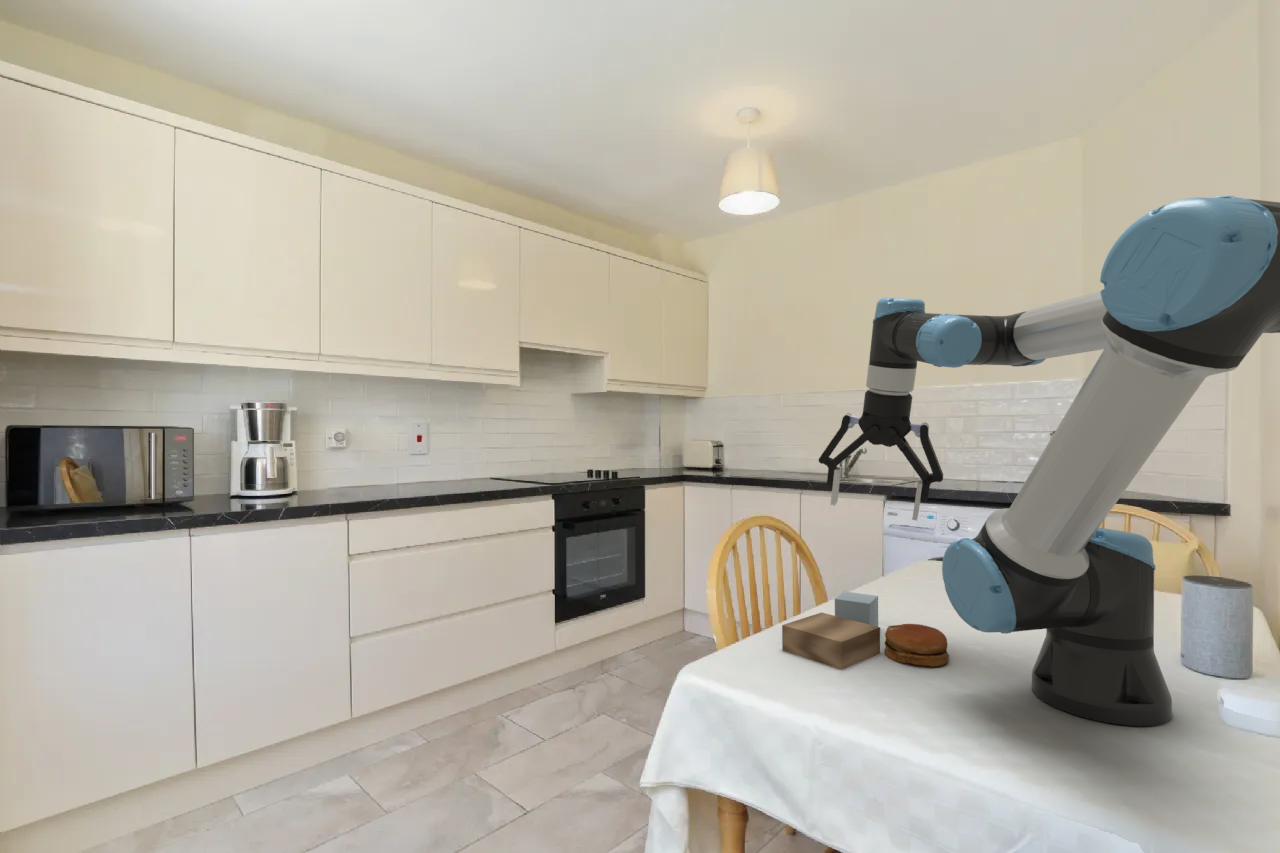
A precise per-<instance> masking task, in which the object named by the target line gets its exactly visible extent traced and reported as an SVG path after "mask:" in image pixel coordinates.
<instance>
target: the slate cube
mask: <svg viewBox="0 0 1280 853" xmlns="http://www.w3.org/2000/svg"><path fill="white" fill-rule="evenodd" d="M834 616H838V617H842V618H846V619H849V620H853V621H857V622H861V623H865V624H869V625H873V626H877V627H879V595H876V594H875V595H874V594H866V593H859V592H852V591H843V592H841V593H840V594H839V595H838V596H836V597H835V598H834Z"/></svg>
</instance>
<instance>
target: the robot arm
mask: <svg viewBox="0 0 1280 853" xmlns="http://www.w3.org/2000/svg"><path fill="white" fill-rule="evenodd" d="M1102 265H1103V266H1102V268H1101V272H1100V279H1099V281H1100V283H1101V284H1103V286H1104V287H1103V289H1102V290H1100V291H1097V292H1093V293H1088V294H1085V295H1082V296H1078V297H1074V298H1070V299H1065V300H1063V301H1059V302H1056V303H1051V304H1047V305H1043V306H1040V307H1037V308H1032V309H1029V310H1027V311H1026V310H1025V311H1022V312H1018V313H1014V314H1009V315H974V314H973V315H972V314H951V313H931V312H926V308H925V306H926V304H925V302H924V300H922V299H918V298H917V299H916V298H903V297H901V298H900V297H895V298H894V297H883V298H880V299H879V300H878V301H877V303H876V307H875V313H874V318H873V319H872V332H871V342H870V348H869V349H870V350H869V361H868V362H869V363H868V366H867V375H866V382H865V383H866V384H865V387H867V390H866V391H865V392H864V398H863V399H864V401H863V408H862V409H863V410H862V414H861V416H859V417H858V416H855V415H852V414H851V413H849V412H848V413H846V414H844V415H843V416H842V420H841V424H840V428H839V429H837V430H838V431H836V433H835V435H834V436H833V437H832V439H831V440H830V442H829V443H828V444H827V446H826V447H825V449H824V450H823V451H822V454H820V456H819V458H818V463H820V464H821V465H822V464H823V465H824V466H827V469H828V471H827V477H826V478H827V480H826V483H827V486H832V489H831V498H830V506H836V504H837V503H838V501H839V491H840V483H841V474H842V466H838V465H840V464H841V463H842V462H843V461H845V460H846V459H847V458H848V457H849V456H851V455H852V454H853V453H854V452H855V451H856V450H858V449H859V448H860V447H861V446H863V445H864V444H866V442H869V443H870V444H871V445H874V446H880V445H882V446H884V447H888V448H889V447H890V448H891V447H894V446H896V447H897V448H898V449H899V451H900V452H902V454H903V455H904V457H905V458H906V460H907V461H908V462H909V464H910V465H911V467H912V468H913V470H914V471H915V473H916V474H917V475H918V477H919V478H918V480H917V486H916V492H915V498H914V505H913V511H912V512H913V513H912V520H913V521H917V522H918V518H919V512H920V505H921V502H927V501H928V500H929V497H930V496H929V494H930V487H931V485H932V484H933V483H941V482H942V481H943V479H944V473H943V469H942V468H941V465H940V463H939V460H938V457H937V454H936V451H935V449H934V446H933V444H932V441H931V438H930V436H929V432H930V428H929V426H930V425H929V424H928V423H927V422H922V423H911V419H910V418H911V409H912V402H913V395H912V394H911V393H912V392H913V391H914V389H915V381H916V375H917V367H918V362H921V363H925V364H930V365H932V366H934V367H938V368H942V367H943V368H954V369H955V368H960V367H961V368H962V367H963V366H967V365H968V366H982V365H983V366H985V365H986V366H1011V367H1016V368H1017V367H1027V366H1035V365H1039V364H1041V363H1043V362H1044V361H1045V360H1046V359H1051V358H1052V359H1053V358H1057V357H1065V356H1071V355H1077V354H1082V353H1088V352H1089V353H1090V352H1094V351H1100V350H1102V352H1101V354H1100V355H1099V357H1098V358H1097V360H1096V362H1095V364H1094V365H1093V367H1092V369H1091V371H1089V374H1088V375H1087V377H1086V379H1085V381H1084V383H1083V384H1082V386H1081V387H1080V389H1079V391H1078V392H1077V394H1076V396H1075V398H1074V399H1073V401H1072V402H1071V404H1070V406H1069V408H1068V409H1067V411H1066V413H1065V414H1064V416H1063V418H1062V419H1061V420H1060V423H1059V424H1058V426H1057V428H1056V429H1055V432H1054V433H1053V434H1052V436H1051V438H1050V440H1049V441H1048V443H1047V445H1046V446H1045V448H1044V450H1043V451H1042V453H1041V455H1040V456H1039V458H1038V460H1037V461H1036V463H1035V465H1034V467H1033V468H1032V470H1031V471H1030V473H1029V474H1028V476H1027V478H1026V480H1025V482H1024V483H1023V485H1022V487H1021V488H1020V490H1019V491H1018V493H1017V496H1016V497H1015V498H1014V500H1013V502H1012V504H1010V506H1009V508H1001V509H996V510H995V511H993V512H992V513H991V514H990V515H989V516H988V517H987V519H986V521H984V524H983V525H982V527H981V529H980V530H979V532H978V534H977V535H976V536H975V537H973V538H968V537H963V538H960V539H957V540H955V541H953V542H951V543H950V544H949V545H948V547H947V548H946V549H945V551H944V554H943V558H942V565H941V575H942V580H943V583H944V590H945V593H946V595H947V597H948V600H949V602H950V604H951V606H952V608H953V609H954V611H955V612H956V613H957V615H958V616H959V617H960V619H961V620H962V621H963V622H965V623H966V624H967V625H968V626H969V627H970V628H972V629H974V630H976V631H980V632H983V633H989V634H990V633H999V634H1004V635H1006V634H1011V633H1013V632H1014V633H1015V632H1025V631H1026V632H1027V631H1034V630H1035V631H1036V630H1046V633H1045V637H1044V640H1043V642H1042V645H1041V648H1040V651H1039V653H1038V654H1037V657H1036V658H1037V659H1036V661H1035V662H1034V664H1033V668H1032V671H1031V690H1032V692H1033V694H1034V695H1035V696H1036V697H1038V698H1039V699H1040V700H1041V701H1043V702H1045V703H1046V704H1048V705H1050V706H1052V707H1054V708H1056V709H1059V710H1061V711H1062V712H1063V711H1064V712H1066V713H1069V714H1072V715H1076V716H1078V717H1081V718H1086V719H1089V720H1093V721H1098V722H1103V723H1108V724H1114V725H1122V726H1135V727H1136V726H1137V727H1148V726H1149V727H1150V726H1156V725H1157V726H1158V725H1162V724H1165V723H1168V722H1169V721H1170V720H1171V719H1172V716H1173V702H1172V701H1173V700H1172V696H1171V693H1170V690H1169V687H1168V685H1167V682H1166V680H1165V677H1164V675H1163V672H1162V669H1161V667H1160V664H1159V661H1158V659H1157V657H1156V653H1155V644H1154V643H1155V642H1154V641H1155V639H1154V637H1155V636H1154V634H1155V633H1154V631H1155V629H1154V626H1155V571H1156V565H1155V563H1154V562H1155V561H1154V550H1153V544H1152V542H1150V540H1149V539H1148V538H1147V537H1145V536H1144V535H1141V534H1138V533H1133V532H1128V531H1123V530H1117V529H1111V528H1104V527H1100V526H1101V525H1102V523H1103V522H1104V520H1106V518H1107V517H1108V515H1109V513H1110V512H1111V511H1112V509H1113V508H1114V507H1115V505H1116V503H1117V502H1118V501H1119V499H1120V498H1121V497H1122V495H1123V493H1125V491H1126V490H1127V489H1128V487H1129V486H1130V484H1131V483H1132V482H1133V480H1134V479H1135V477H1136V476H1137V474H1138V473H1139V471H1141V469H1142V467H1143V466H1144V465H1145V463H1146V462H1147V460H1148V459H1149V458H1150V456H1151V455H1152V454H1153V452H1154V451H1155V449H1156V448H1157V446H1158V445H1159V444H1160V443H1161V440H1162V439H1163V438H1164V437H1165V435H1166V434H1167V432H1168V431H1169V430H1170V429H1171V426H1173V424H1174V422H1175V421H1176V420H1177V419H1178V417H1180V416H1179V415H1180V414H1181V413H1182V412H1183V410H1184V409H1185V408H1186V406H1187V405H1188V403H1189V401H1190V400H1191V399H1192V397H1194V395H1195V393H1196V392H1197V390H1199V388H1200V386H1201V385H1202V383H1203V382H1204V381H1205V380H1206V378H1208V377H1209V376H1213V375H1217V374H1218V375H1219V374H1222V373H1227V372H1231V371H1234V370H1235V369H1237V368H1238V367H1239V366H1240V364H1241V363H1242V361H1244V359H1245V357H1246V356H1247V355H1248V353H1250V351H1251V349H1252V348H1253V347H1254V346H1255V344H1256V343H1257V341H1258V340H1259V339H1260V338H1261V336H1262V335H1263V334H1278V333H1279V334H1280V201H1279V202H1278V201H1269V200H1259V199H1255V198H1254V199H1252V198H1251V199H1250V198H1243V197H1236V196H1233V195H1224V196H1223V195H1221V196H1220V195H1218V196H1213V197H1212V196H1211V197H1189V198H1188V197H1187V198H1183V199H1178V200H1175V201H1171V202H1168V203H1166V204H1163V205H1162V206H1160V207H1158V208H1154V209H1152V210H1150V211H1149V212H1147V213H1145V214H1144V215H1142V216H1140V218H1137V220H1135V221H1134V222H1133V223H1132V224H1131V225H1129V227H1127V228H1126V229H1125V230H1124V231H1123V232H1122V234H1120V236H1118V238H1117V240H1116V241H1115V242H1114V243H1113V245H1112V247H1111V248H1110V249H1109V252H1108V253H1107V256H1106V258H1105V259H1104V263H1103V264H1102ZM855 425H858V426H859V428H860V430H861V432H862V433H861V435H859V436H858V437H857V438H856V439H855V440H854V441H852V442H851V443H850V444H849V445H848V446H846V447H845V448H844V449H843V450H842V451H840V452H839V453H838V454H837V455H836V456H835V457H831V455H832V454H833V452H834V450H835V449H836V448H837V446H838V444H840V442H841V441H842V439H843V438H844V436H845V435H846V434H847V432H848V430H849V429H853V428H854V426H855ZM910 432H913V433H914V435H915V437H917V438H919V439H920V441H919V442H920V444H921V446H922V449H923V452H924V454H925V457H926V459H927V462H928V464H929V467H930V470H931V473H930V472H929V471H928V469H927V468H926V467H925V465H924V464H923V462H922V461H921V460H920V458H919V457H918V455H917V454H916V452H915V451H914V450H913V448H912V447H911V445H910V443H909V442H908V440H907V439H906V438H905V437H906V436H907V435H909V434H910Z"/></svg>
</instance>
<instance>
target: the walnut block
mask: <svg viewBox="0 0 1280 853" xmlns="http://www.w3.org/2000/svg"><path fill="white" fill-rule="evenodd" d="M781 632H782V633H781V634H782V635H781V638H782V639H781V640H782V642H781V645H782V651H783V652H785V653H789V654H792V655H794V656H796V657H797V656H798V657H801V658H804V659H806V660H810V661H813V662H815V663H819V664H822V665H825V666H829V667H831V668H834V669H837V670H841V671H842V670H845V669H847V668H849V667H852V666H854V665H855V664H858V663H861V662H864V661H865V660H867V659H870V658H872V657H874V656H877V655H879V654H880V653H881V627H880V626H878V627H877V626H873V625H869V624H865V623H861V622H857V621H853V620H849V619H846V618H842V617H838V616H835V614H830V613H825V612H819V613H818V612H817V613H816V614H813V615H810V616H806V617H804V618H799V619H797V620H793V621H791V622H788V623H787V622H786V623H784V624H782V626H781Z"/></svg>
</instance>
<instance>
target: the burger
mask: <svg viewBox="0 0 1280 853" xmlns="http://www.w3.org/2000/svg"><path fill="white" fill-rule="evenodd" d="M884 635H885V641H884V645H885V646H884V647H885V649H884V652H883V653H884V654H885V656H886V658H888V659H890V660H891V661H894V662H898V663H902V664H912V665H916V666H917V667H918V666H922V667H931V668H933V667H934V668H936V667H940V666H945V665H947V664H948V662H949V659H950V658H949V657H950V654H949V653H948V651H947V649H948V638H947V637H946V634H944V633H943V632H942V631H941V630H940V629H937V628H935V627H931V626H928V625H925V624H918V623H902V624H894V625H889V626H887V628H886V632H885V634H884Z"/></svg>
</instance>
